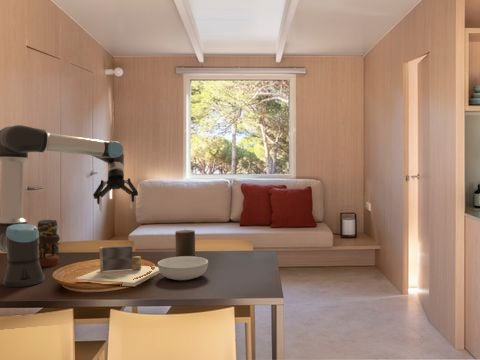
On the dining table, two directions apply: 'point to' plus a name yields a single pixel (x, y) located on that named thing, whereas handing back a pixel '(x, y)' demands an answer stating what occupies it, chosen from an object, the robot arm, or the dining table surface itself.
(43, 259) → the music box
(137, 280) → the board
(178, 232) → the pillar candle
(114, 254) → the peg head
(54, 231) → the camouflage backpack
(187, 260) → the serving bowl
